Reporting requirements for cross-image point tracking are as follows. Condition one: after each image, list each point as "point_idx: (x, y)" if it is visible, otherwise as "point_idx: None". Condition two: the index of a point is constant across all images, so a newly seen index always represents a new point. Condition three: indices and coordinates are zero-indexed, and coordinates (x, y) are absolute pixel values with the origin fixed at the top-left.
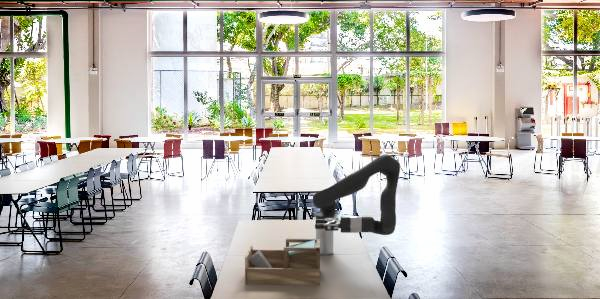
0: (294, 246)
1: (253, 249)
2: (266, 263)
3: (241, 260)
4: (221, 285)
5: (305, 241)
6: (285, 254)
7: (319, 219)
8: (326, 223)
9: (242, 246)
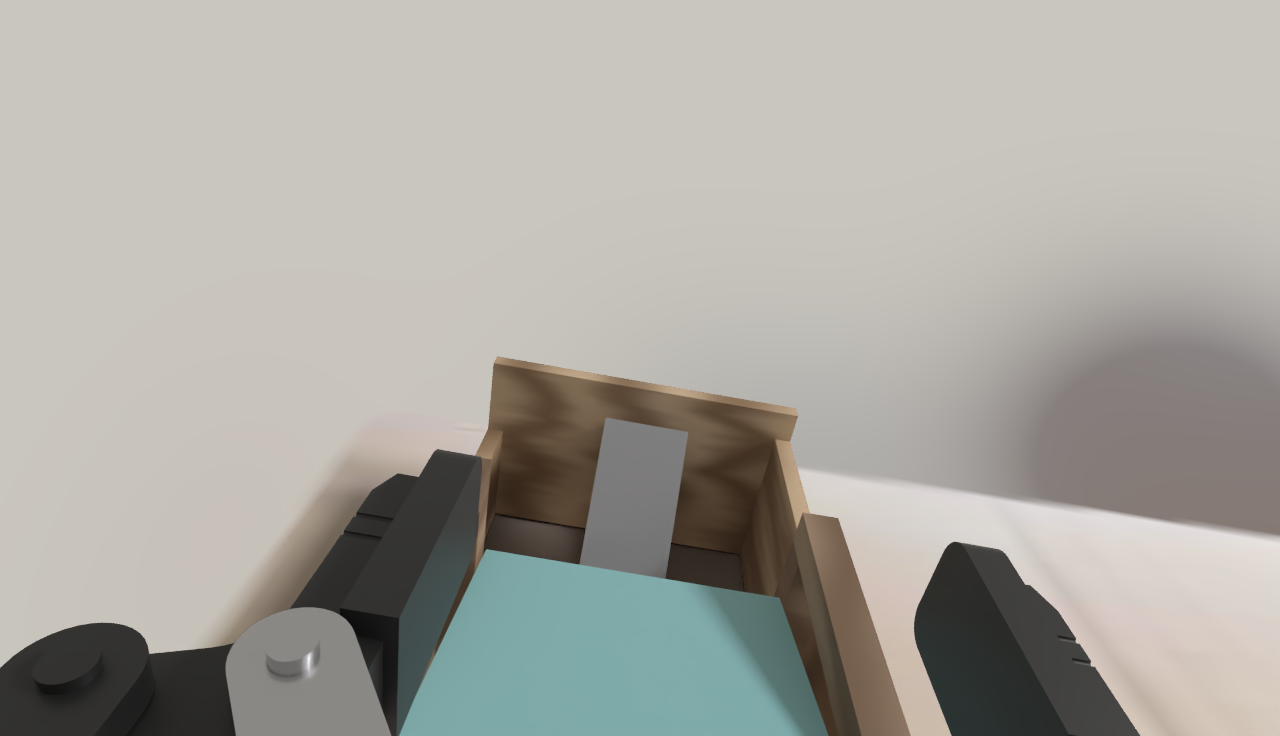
0: (704, 616)
1: (784, 443)
2: (595, 524)
3: (920, 525)
4: None
5: (845, 729)
6: None
7: (1026, 614)
8: (360, 726)
9: (1188, 551)
